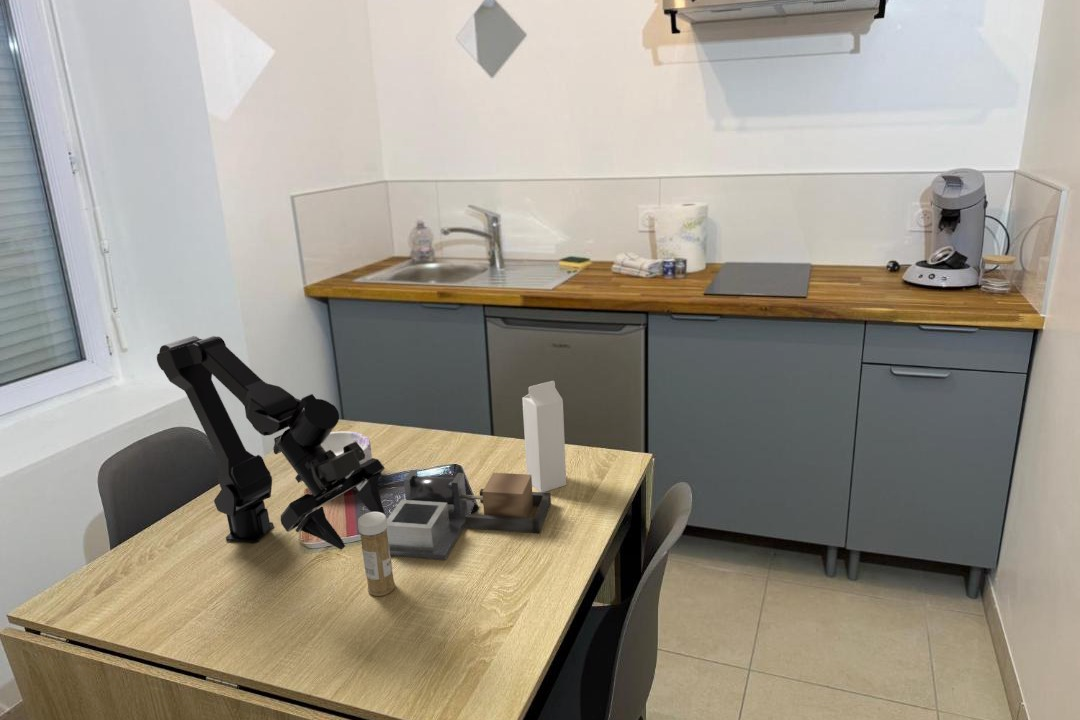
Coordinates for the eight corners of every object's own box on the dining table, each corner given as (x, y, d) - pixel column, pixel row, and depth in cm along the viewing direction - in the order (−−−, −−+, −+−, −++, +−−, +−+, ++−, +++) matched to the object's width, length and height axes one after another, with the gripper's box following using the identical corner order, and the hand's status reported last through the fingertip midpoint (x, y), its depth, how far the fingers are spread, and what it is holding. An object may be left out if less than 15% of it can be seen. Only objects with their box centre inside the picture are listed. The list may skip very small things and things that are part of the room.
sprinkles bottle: (399, 590, 130) (390, 518, 125) (373, 600, 128) (363, 528, 123) (388, 577, 134) (379, 507, 129) (363, 587, 131) (352, 516, 127)
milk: (566, 485, 161) (563, 384, 154) (540, 493, 158) (536, 391, 151) (551, 473, 166) (547, 375, 159) (526, 481, 163) (521, 382, 156)
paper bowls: (389, 471, 171) (384, 437, 168) (337, 502, 159) (332, 466, 156) (339, 456, 179) (334, 424, 176) (286, 485, 167) (280, 451, 164)
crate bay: (466, 528, 147) (463, 494, 145) (482, 499, 157) (479, 467, 155) (539, 533, 144) (537, 499, 142) (550, 503, 154) (549, 471, 152)
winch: (370, 553, 141) (365, 517, 138) (409, 500, 158) (405, 467, 156) (472, 562, 137) (468, 524, 134) (500, 506, 154) (497, 472, 152)
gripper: (280, 457, 119) (340, 540, 116) (370, 413, 133) (425, 486, 131) (256, 491, 126) (312, 571, 123) (344, 446, 140) (396, 516, 138)
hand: (364, 534), depth 129 cm, fingers open, 9 cm apart
